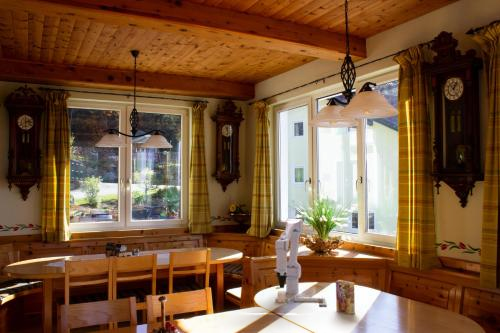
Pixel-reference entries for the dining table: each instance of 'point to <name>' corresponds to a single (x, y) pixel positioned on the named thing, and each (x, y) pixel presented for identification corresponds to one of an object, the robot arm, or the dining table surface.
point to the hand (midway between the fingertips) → (281, 286)
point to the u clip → (281, 296)
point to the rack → (312, 300)
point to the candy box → (345, 296)
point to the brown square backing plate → (281, 302)
